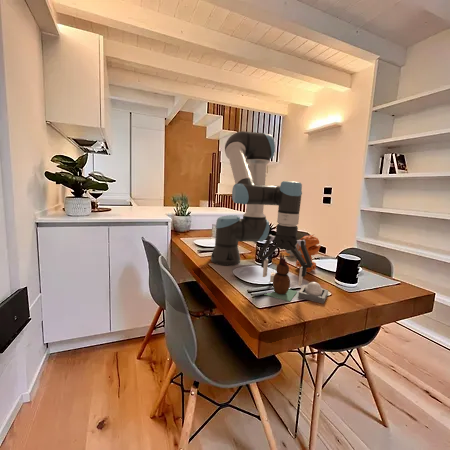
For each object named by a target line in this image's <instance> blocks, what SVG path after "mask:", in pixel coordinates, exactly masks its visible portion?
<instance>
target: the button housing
mask: <svg viewBox="0 0 450 450" xmlns="http://www.w3.org/2000/svg"><path fill="white" fill-rule="evenodd" d="M306 285H307V284H303V285H302V287H301V288H300V290H299V291H298V295H297V296H298V298H299V299H304V300H307V301H310V302H311V301H312V302H314V303H319V304H322V305H325V303H326V302H325V301H326V299H327V297H328V295H329V293H328V292H329V290H328V289H325V288H322V289H323V290H322V297H321V296H316V295H312V294H308V293H305V288H306Z"/></svg>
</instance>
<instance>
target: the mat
mask: <svg viewBox="0 0 450 450" xmlns="http://www.w3.org/2000/svg"><path fill="white" fill-rule="evenodd" d="M297 293H298V291H297V290H292V289H289V290H288V292H287V293H286V294H278V293H276V292H272V293H267V294H264V293H263V294H264V296H268V297H271V298H274V299H278V300H283V301H285V302H291V301H293V299H294V297H295V296H296V295H297Z"/></svg>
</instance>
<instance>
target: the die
mask: <svg viewBox="0 0 450 450" xmlns="http://www.w3.org/2000/svg"><path fill="white" fill-rule="evenodd" d="M276 273H277V272H270V277H269V279H270V280H269V283H270V282H273V279H274V275H275V274H276Z"/></svg>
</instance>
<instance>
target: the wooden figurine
mask: <svg viewBox="0 0 450 450" xmlns="http://www.w3.org/2000/svg"><path fill="white" fill-rule="evenodd" d="M282 254H283V253H282V252H280V255H279V260H278V261H279V263H277V266H276V269H275V270H276V272H275V273H276V274H275V275H274V279H273V287H274V291H275V292H276V293H278V294H286V293H287V292H288V290H290V286H291V280H290V276H289V272H290V267H289V264H288V263H287V261H286V258H285V255H282Z"/></svg>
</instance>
